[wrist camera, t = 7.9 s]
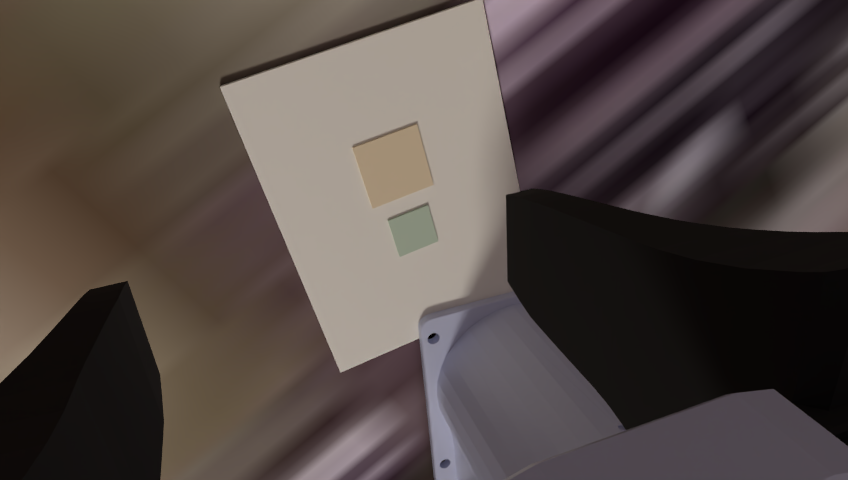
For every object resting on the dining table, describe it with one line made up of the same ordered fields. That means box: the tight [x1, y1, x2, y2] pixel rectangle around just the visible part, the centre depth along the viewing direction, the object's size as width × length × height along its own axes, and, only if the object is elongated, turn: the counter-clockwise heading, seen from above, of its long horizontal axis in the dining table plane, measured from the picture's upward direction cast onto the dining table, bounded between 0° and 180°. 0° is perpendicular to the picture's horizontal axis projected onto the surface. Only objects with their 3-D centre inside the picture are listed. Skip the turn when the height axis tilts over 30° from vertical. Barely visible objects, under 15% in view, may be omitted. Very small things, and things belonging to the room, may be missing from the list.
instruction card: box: [220, 0, 520, 373], centre depth 23 cm, size 12×9×1 cm
